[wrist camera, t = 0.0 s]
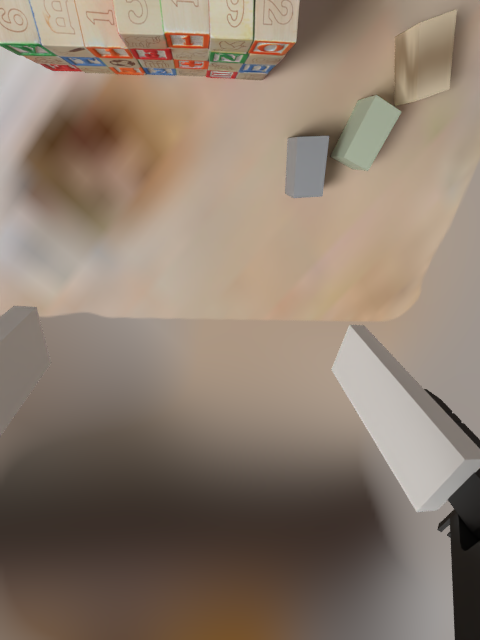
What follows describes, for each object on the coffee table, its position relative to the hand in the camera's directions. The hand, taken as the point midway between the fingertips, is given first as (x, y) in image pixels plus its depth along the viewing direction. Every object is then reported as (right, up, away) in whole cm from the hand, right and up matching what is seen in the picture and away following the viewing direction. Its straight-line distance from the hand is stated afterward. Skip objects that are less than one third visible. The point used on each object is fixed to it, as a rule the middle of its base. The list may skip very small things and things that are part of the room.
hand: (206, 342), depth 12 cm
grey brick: (+9, +20, +22) cm, 31 cm away
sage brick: (+15, +23, +21) cm, 35 cm away
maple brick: (+20, +29, +18) cm, 40 cm away
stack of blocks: (-7, +29, +15) cm, 33 cm away
